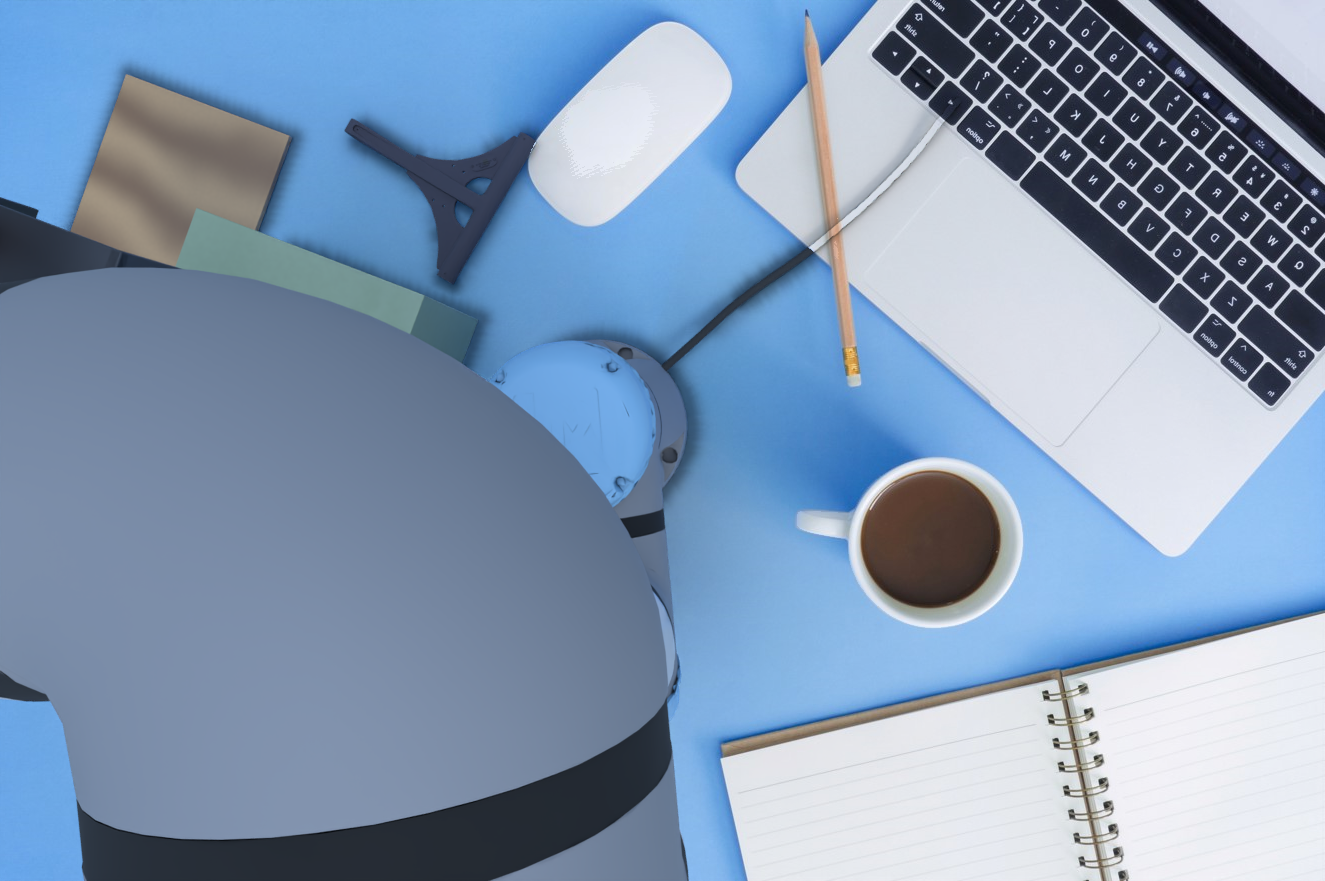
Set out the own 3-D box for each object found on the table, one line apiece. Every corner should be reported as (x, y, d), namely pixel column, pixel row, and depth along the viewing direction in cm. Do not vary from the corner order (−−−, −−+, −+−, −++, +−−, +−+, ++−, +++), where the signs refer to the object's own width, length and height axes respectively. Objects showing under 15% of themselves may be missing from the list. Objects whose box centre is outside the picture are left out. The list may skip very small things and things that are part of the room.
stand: (293, 248, 79) (196, 207, 64) (478, 319, 78) (424, 295, 63) (254, 353, 79) (149, 336, 64) (439, 424, 78) (376, 425, 63)
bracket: (395, 60, 78) (384, 47, 75) (538, 144, 77) (531, 134, 75) (315, 201, 79) (300, 193, 76) (456, 286, 78) (446, 281, 75)
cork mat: (130, 76, 79) (125, 73, 79) (292, 137, 79) (289, 135, 78) (56, 284, 80) (51, 283, 79) (216, 347, 79) (212, 346, 79)
